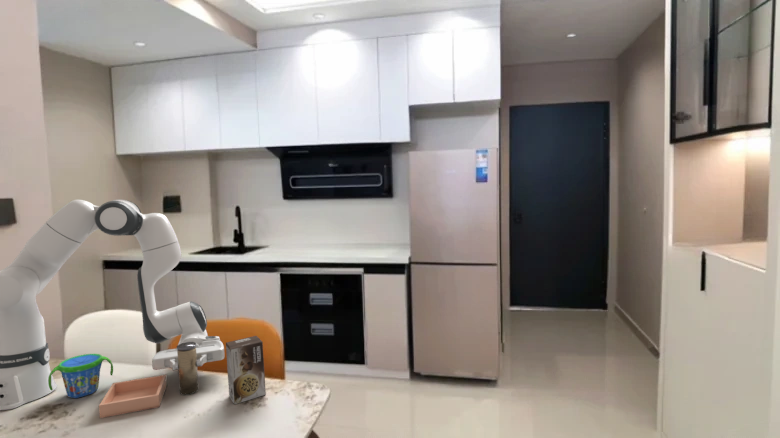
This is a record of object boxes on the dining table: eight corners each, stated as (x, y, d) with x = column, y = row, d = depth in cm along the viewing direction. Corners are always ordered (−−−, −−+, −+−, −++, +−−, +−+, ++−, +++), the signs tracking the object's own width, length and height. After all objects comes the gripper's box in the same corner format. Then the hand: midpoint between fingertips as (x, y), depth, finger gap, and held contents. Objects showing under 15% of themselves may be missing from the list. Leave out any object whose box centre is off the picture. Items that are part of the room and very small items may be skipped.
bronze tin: (178, 396, 121) (175, 349, 120) (180, 388, 126) (177, 343, 125) (198, 392, 123) (195, 346, 122) (199, 385, 127) (196, 340, 126)
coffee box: (259, 386, 126) (257, 334, 125) (266, 395, 120) (263, 341, 119) (228, 396, 121) (225, 341, 119) (233, 405, 115) (230, 348, 114)
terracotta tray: (99, 418, 110) (98, 405, 110) (113, 394, 123) (113, 383, 123) (159, 407, 115) (158, 394, 115) (166, 385, 128) (166, 374, 128)
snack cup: (114, 379, 133) (112, 348, 133) (114, 392, 125) (111, 359, 124) (52, 393, 125) (49, 360, 124) (47, 408, 116) (44, 373, 115)
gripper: (155, 344, 132) (146, 361, 119) (224, 335, 139) (223, 350, 126) (156, 364, 132) (148, 382, 119) (225, 353, 139) (224, 370, 127)
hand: (187, 365), depth 123 cm, fingers closed on bronze tin, 5 cm apart
